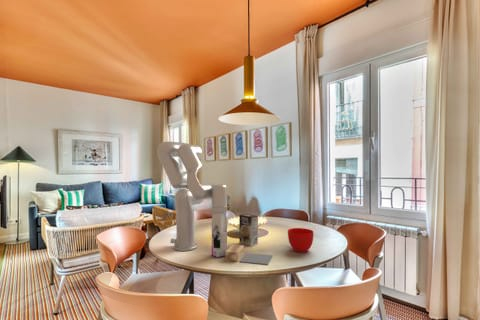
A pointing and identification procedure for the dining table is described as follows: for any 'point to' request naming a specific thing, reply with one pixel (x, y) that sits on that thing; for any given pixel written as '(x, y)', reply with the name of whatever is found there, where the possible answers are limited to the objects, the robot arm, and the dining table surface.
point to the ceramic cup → (300, 239)
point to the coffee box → (248, 229)
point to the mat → (256, 258)
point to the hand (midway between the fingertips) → (220, 245)
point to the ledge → (234, 253)
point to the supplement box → (223, 246)
